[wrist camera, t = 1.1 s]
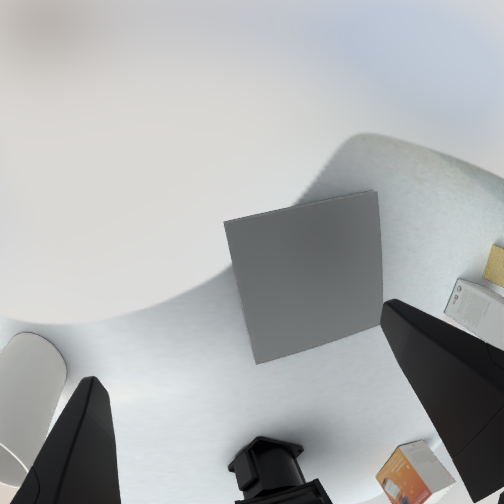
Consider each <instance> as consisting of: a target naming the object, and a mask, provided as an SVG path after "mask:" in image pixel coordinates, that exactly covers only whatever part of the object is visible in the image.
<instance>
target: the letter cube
mask: <svg viewBox="0 0 504 504" xmlns="http://www.w3.org/2000/svg"><path fill="white" fill-rule="evenodd" d="M483 278H485V279H487V280H489V281H491V282H493V283H495V284H497V285H499V286H501V287H503V288H504V249H502V248H499V247H497V246H494V245H492V248H491V251H490V255H489V258H488V261H487V265H486V268H485V271H484V274H483Z"/></svg>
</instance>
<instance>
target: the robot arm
mask: <svg viewBox="0 0 504 504" xmlns="http://www.w3.org/2000/svg"><path fill="white" fill-rule="evenodd" d="M380 325H381V328H382V330H383V332H384V334H385V336H386V338H387V340H388V343H389V345H390V347H391V349H392V351H393V353H394V356H395V358H396V360H397V362H398V364H399V366H400V367H401V369H402V371H403V373H404V374H405V376H406V378H407V379H408V381H409V383H410V384H411V386H412V388H413V390H414V391H415V393H416V395H417V396H418V398H419V400H420V402H421V403H422V405H423V407H424V409H425V411H426V412H427V414H428V416H429V418H430V419H431V421H432V423H433V425H434V427H435V428H436V430H437V432H438V434H439V436H440V438H441V440H442V441H443V443H444V445H445V447H446V449H447V451H448V453H449V454H450V456H451V458H452V461H453V463H454V465H455V466H456V469H457V470H458V472H459V474H460V476H461V478H462V480H463V482H464V484H465V486H466V488H467V491H468V493H469V495H470V497H471V499H472V501H473V502H474V503H476V502H478V501H480V500H482V499H483V498H485V497H487V496H489V495H491V494H492V493H494V492H496V491H497V490H499V489H501V488H502V487H504V350H501V349H499V348H497V347H495V346H493V345H491V344H489V343H487V342H486V343H485V341H483V340H481V339H479V338H477V337H475V336H473V335H471V334H469V333H467V332H465V331H462V330H460V329H458V328H456V327H454V326H452V325H450V324H448V323H446V322H444V321H442V320H440V319H438V318H436V317H434V316H432V315H430V314H427V313H425V312H423V311H421V310H419V309H417V308H415V307H413V306H411V305H409V304H407V303H404V302H402V301H400V300H398V299H391V300H389V301H386V302H384V304H383V307H382V313H381V318H380ZM303 451H304V449H303V447H302V446H299V445H294V444H289V443H284V442H280V441H275V440H271V439H267V438H263V437H258V438H256V439H255V440H254V441H253V442H252V443H251V444H250V445H249V446H248V447H247V448H246V449H245V450H244V451H243V452H242V453H241V454H240V455H239V456H238V457H237V458H236V459H235V460H234V461H233V462H232V463H231V464H230V465H229V466H228V470H229V472H234V473H235V474H236V479H237V483H238V487H239V490H240V491H243V495H244V499H245V500H241V501H240V500H237V501H235V504H333V503H332V502H331V500H330V498H329V496H328V495H327V493H326V491H325V490H324V488H323V486H322V485H321V483H320V481H319V479H318V478H317V479H314V480H313V481H311V482H308V483H306V481H305V478H304V476H303V474H302V471H301V469H300V467H299V464H298V462H297V460H296V458H297V457H298V456H299V455H300V454H301V453H302V452H303ZM10 504H121V498H120V490H119V480H118V469H117V455H116V441H115V434H114V427H113V421H112V414H111V406H110V398H109V394H108V392H107V390H106V389H105V388H104V386H103V385H102V384H101V382H100V381H99V380H98V378H97V377H95V376H90V377H84V378H83V379H82V380H81V381H80V383H79V385H78V386H77V388H76V389H75V391H74V393H73V394H72V396H71V398H70V399H69V401H68V403H67V404H66V406H65V408H64V409H63V411H62V413H61V414H60V416H59V418H58V420H57V421H56V423H55V425H54V426H53V428H52V430H51V432H50V433H49V435H48V437H47V439H46V441H45V442H44V444H43V446H42V448H41V450H40V451H39V453H38V455H37V457H36V459H35V461H34V463H33V466H31V468H30V470H29V472H28V474H27V476H26V477H25V479H24V481H23V483H22V485H21V486H20V488H19V490H18V491H17V493H16V495H15V496H14V498H13V500H12V501H11V503H10ZM498 504H504V491H503V492H502V493H501V494H500V497H499V501H498Z"/></svg>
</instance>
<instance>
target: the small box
mask: <svg viewBox="0 0 504 504" xmlns="http://www.w3.org/2000/svg"><path fill="white" fill-rule="evenodd" d="M376 479H377V480H378V482H379V484H380V485H381V487H382V488H383V490H384V492H385V493H386V495H387V496H388V498H389V500H390V501H391V503H392V504H435V503H436V502H437V501H438V500H439V499H440V498H441V497H442V496H443V495H444V494H445V493H446V492H447V491H448V490H449V489H450V488H451V487H452V486H453V485H454V484H455V483H456V481H455V480H454V478H453V477H452V476H451V474H450V473H449V472H448V471H447V469H446V468H445V467H444V466H443V465H442V463H441V462H440V461H439V460H438V459H437V457H436V456H435V455H434V454H433V452H432V451H431V450H430V449H429V447H428V446H427V445H426V444H425V442H424V441H423V440H420V441H417V442H413V443H410V444H406V445H402V446H399V447H398V448H397V449H396V451H395V452H394V454H393V455H392V456H391V458H390V459H389V460H388V462H387V463H386V464H385V466H384V467H383V468H382V469H381V470H380V472H379V473H378V474H377V475H376Z"/></svg>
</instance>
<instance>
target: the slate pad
mask: <svg viewBox="0 0 504 504" xmlns="http://www.w3.org/2000/svg"><path fill="white" fill-rule="evenodd" d="M224 227H225V231H226V236H227V240H228V245H229V250H230V254H231V259H232V264H233V268H234V273H235V277H236V282H237V286H238V291H239V295H240V300H241V304H242V309H243V313H244V317H245V322H246V326H247V331H248V335H249V339H250V344H251V348H252V352H253V356H254V360H255V363H256V365H257V364H261V363H265V362H268V361H272V360H275V359H279V358H282V357H285V356H289V355H292V354H295V353H299V352H302V351H305V350H308V349H311V348H315V347H318V346H321V345H324V344H327V343H330V342H333V341H336V340H338V339H341V338H344V337H347V336H350V335H353V334H356V333H358V332H361V331H364V330H366V329H369V328H372V327H374V326H377V325H380V318H381V313H382V307H383V279H382V250H381V232H380V218H379V206H378V195H377V191H366V192H361V193H356V194H351V195H346V196H341V197H336V198H331V199H326V200H321V201H316V202H311V203H307V204H302V205H297V206H292V207H288V208H283V209H279V210H274V211H269V212H265V213H260V214H256V215H251V216H247V217H242V218H238V219H233V220H229V221H225V222H224Z"/></svg>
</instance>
